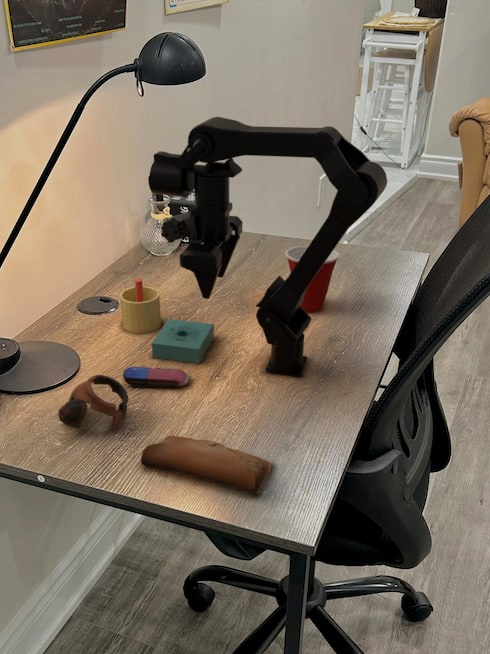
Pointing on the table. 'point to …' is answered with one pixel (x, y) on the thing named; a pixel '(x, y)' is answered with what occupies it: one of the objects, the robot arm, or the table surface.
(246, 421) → the table surface
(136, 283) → the red rod
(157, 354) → the block
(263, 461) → the sunglasses case
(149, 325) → the tumbler
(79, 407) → the brown curved ring piece
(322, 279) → the plastic cup
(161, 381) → the eraser
